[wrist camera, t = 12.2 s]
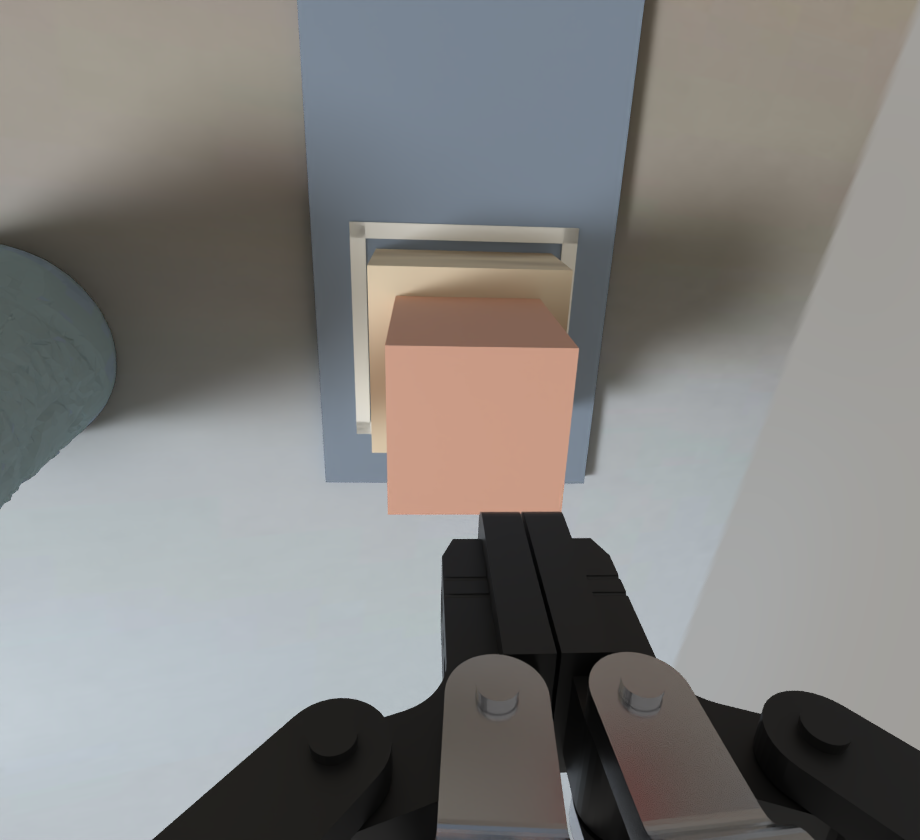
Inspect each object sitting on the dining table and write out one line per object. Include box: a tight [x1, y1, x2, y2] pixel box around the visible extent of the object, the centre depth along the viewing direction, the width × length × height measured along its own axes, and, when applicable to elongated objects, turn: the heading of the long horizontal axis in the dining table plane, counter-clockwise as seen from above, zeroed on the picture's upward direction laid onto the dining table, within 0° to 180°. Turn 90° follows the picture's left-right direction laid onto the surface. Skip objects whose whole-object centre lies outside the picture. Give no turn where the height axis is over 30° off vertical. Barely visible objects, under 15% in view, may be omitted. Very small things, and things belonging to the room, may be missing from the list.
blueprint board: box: [297, 0, 645, 483], centre depth 24 cm, size 25×12×1 cm, turn 178°
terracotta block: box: [385, 296, 579, 514], centre depth 20 cm, size 5×5×6 cm
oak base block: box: [367, 249, 573, 453], centre depth 24 cm, size 7×7×4 cm
